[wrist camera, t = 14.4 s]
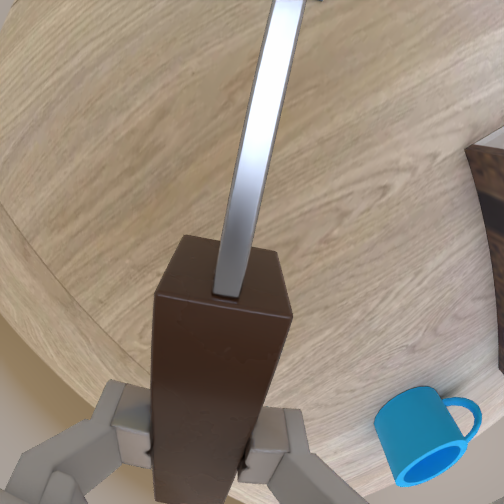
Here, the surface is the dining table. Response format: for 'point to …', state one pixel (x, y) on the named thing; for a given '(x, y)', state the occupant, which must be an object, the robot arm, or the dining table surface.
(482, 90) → the dining table surface
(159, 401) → the butter knife
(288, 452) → the robot arm
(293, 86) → the dining table surface
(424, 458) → the mug
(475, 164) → the book
